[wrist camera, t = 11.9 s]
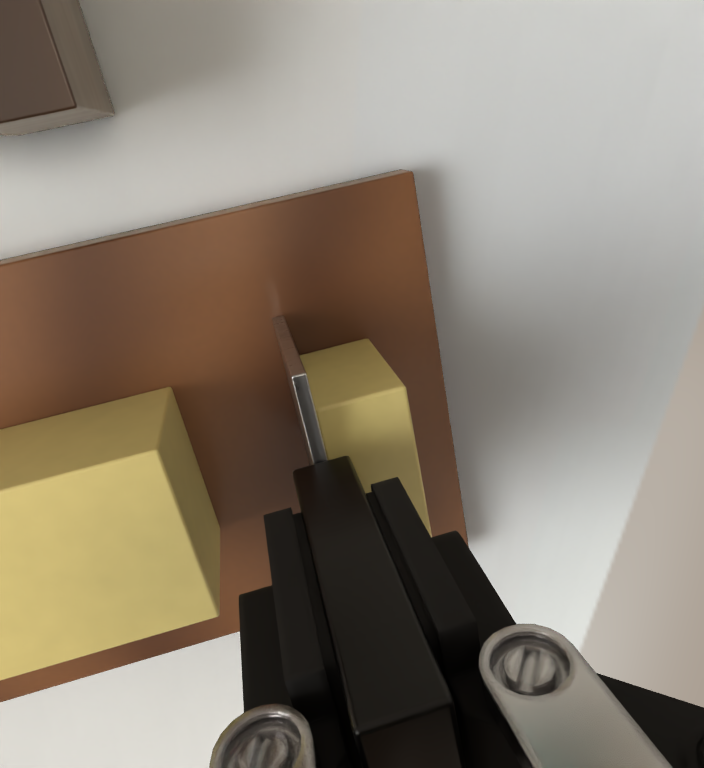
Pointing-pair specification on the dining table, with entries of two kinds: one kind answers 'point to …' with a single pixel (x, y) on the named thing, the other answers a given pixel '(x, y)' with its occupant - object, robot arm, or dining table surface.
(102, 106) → the knife block
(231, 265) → the board
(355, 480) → the knife
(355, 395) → the butter slice
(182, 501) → the butter
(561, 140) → the dining table surface
